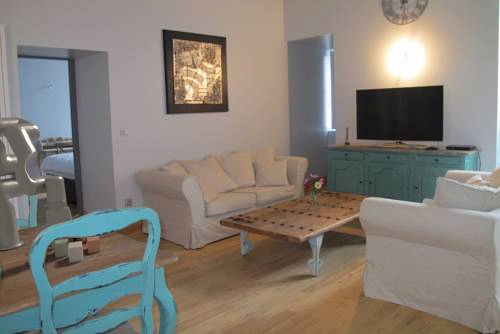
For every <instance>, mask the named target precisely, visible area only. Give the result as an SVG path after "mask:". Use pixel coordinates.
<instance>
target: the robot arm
mask: <svg viewBox="0 0 500 334" xmlns="http://www.w3.org/2000/svg"><path fill="white" fill-rule="evenodd" d="M3 137H5V138H6V140H7V143H8V144H9V146H10V148H11V150H12V152H13V154H12V153H11V154H7V149H6V145H5V143H4V141H2V140H1V139H0V177H6V176H7V178H2V179H0V251H7V250H13V249H16V248H20V247H22V246H23V245H24V241H23V240H21V239H20V236H19V228H18V226H19V225H18V221H17V220H18V219H17V213H16V212H17V211H16V207H15V205H14V204H13V203H12V202H11V201H10V200H11V199H15V198H20V197H23V196H25V195H26V196H29V197H33V196H37V195H43V194H45V196H46V203H45V204H43V207H44V208H47V209H46V210H45V223H44V224H43V225H41V226H39V227H38V228H37V231H38V232H39V233H40V232H41V231H44V229H45V228H47V227H49V226H51V225H54V224H57V223H61V222H65V221H69V220H74V218H73V219H72V217H73V216H72V213H71V212H72V211H71V209H70V207H69V206H68V202H67V194H66V187H65V180H64V179H65V178H64V177H63V176H61V175H51V174H44V175H38V176H33V177H30V175H29V174H28V171H27V164H28V163H30V162H32V161H33V160H34V159H36V158H37V157H38V151H37V149H36V146H35V145H34V143H33V142H37V141H39V139H40V137H41V130H40V129H39V128H38V126H37V125H36V124H35V123H33V122H31V121H29V120H26V119H24V118H20V117H16V116H14V117H13V116H12V117H10V116H9V117H0V138H3ZM8 176H10V177H9V178H8ZM75 241H77V238H73V242H75ZM51 247H52V244H51V245H50V246H49V245H48V248H51Z"/></svg>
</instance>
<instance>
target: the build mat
mask: <svg viewBox="0 0 500 334" xmlns="http://www.w3.org/2000/svg"><path fill="white" fill-rule="evenodd" d="M86 261H87V253H85V254H84V253H83V261H77V262H76V263H81V262H86ZM73 263H75V262H71V263H70V259H69V256H67V260H66V264H73Z"/></svg>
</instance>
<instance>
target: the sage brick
mask: <svg viewBox="0 0 500 334" xmlns="http://www.w3.org/2000/svg"><path fill="white" fill-rule="evenodd" d="M54 240H55V241H54V246H53V247H54V254H55V255H54V257H55V258H63V257H69V250H68V247H69V244H68V239H65V238H63V239H62V238H61V239H54Z"/></svg>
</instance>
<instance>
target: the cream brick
mask: <svg viewBox="0 0 500 334" xmlns="http://www.w3.org/2000/svg"><path fill="white" fill-rule="evenodd" d="M68 250H69V255H68V257H69V259H70V263H69V264H72V263H71V262H74V263H78V262H77V261H81V262H84V261H83V254H84V247H83V244H82V241H79V242H72V243H69V247H68Z"/></svg>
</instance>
